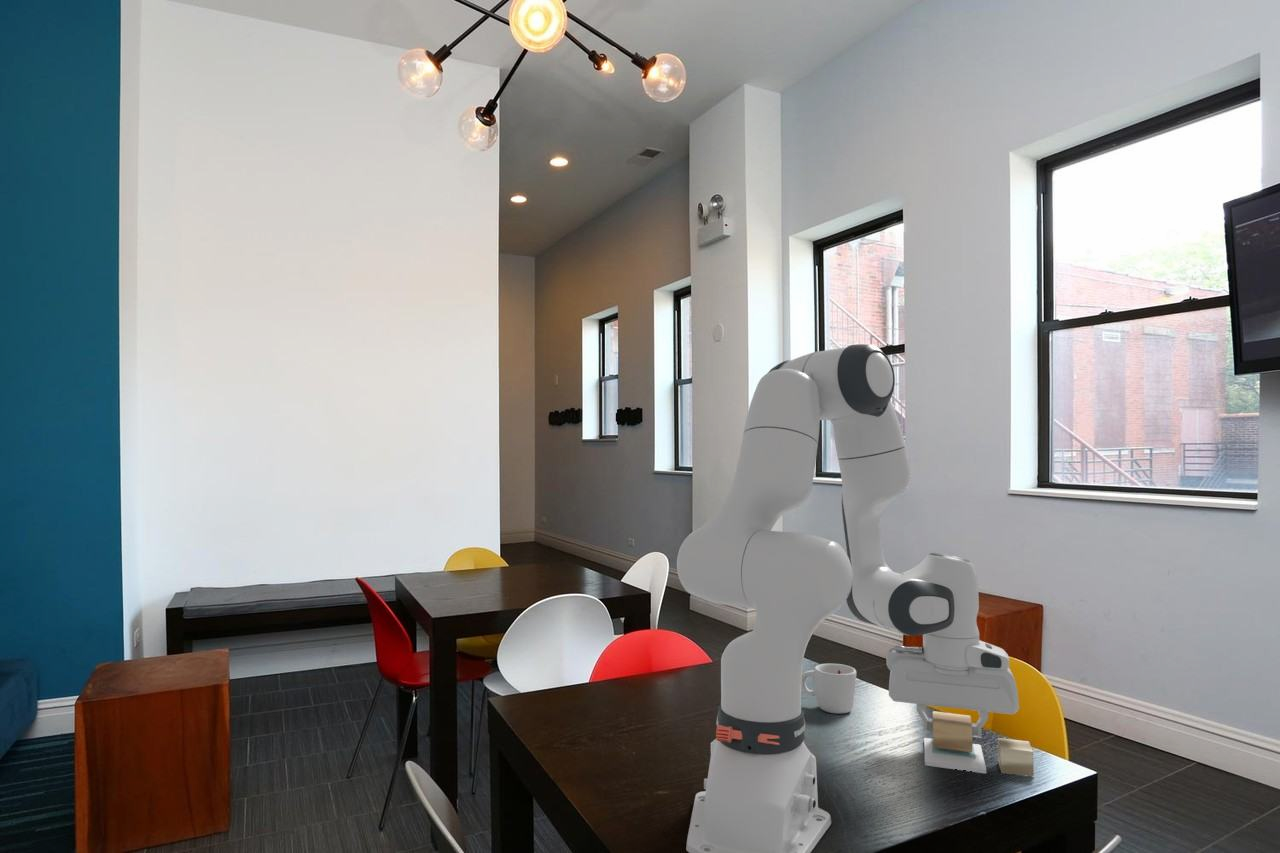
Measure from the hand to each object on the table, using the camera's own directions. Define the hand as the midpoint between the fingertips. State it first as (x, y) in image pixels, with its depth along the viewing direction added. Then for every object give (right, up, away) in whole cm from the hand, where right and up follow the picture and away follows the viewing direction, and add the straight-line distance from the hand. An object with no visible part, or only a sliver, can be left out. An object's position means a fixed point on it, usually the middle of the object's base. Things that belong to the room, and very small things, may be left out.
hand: (952, 733), depth 126 cm
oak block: (0, -2, 0) cm, 2 cm away
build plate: (-1, -3, -2) cm, 4 cm away
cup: (-15, -4, +21) cm, 27 cm away
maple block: (+7, -3, -7) cm, 10 cm away
